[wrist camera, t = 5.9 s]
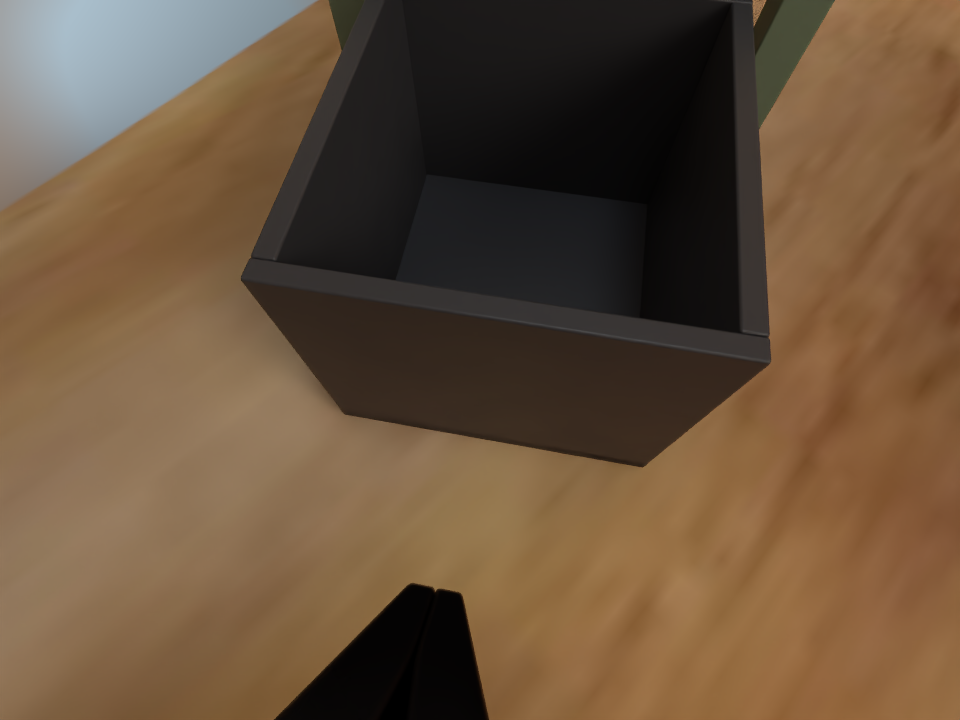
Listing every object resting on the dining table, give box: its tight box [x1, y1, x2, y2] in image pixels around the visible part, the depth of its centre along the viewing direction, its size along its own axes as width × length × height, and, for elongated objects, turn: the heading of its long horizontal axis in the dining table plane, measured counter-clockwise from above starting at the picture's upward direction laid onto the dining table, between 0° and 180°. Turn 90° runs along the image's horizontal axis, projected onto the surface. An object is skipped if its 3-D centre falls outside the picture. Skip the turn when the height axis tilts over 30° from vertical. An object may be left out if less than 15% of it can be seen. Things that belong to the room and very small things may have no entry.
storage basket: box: [241, 0, 771, 467], centre depth 17 cm, size 12×11×9 cm
